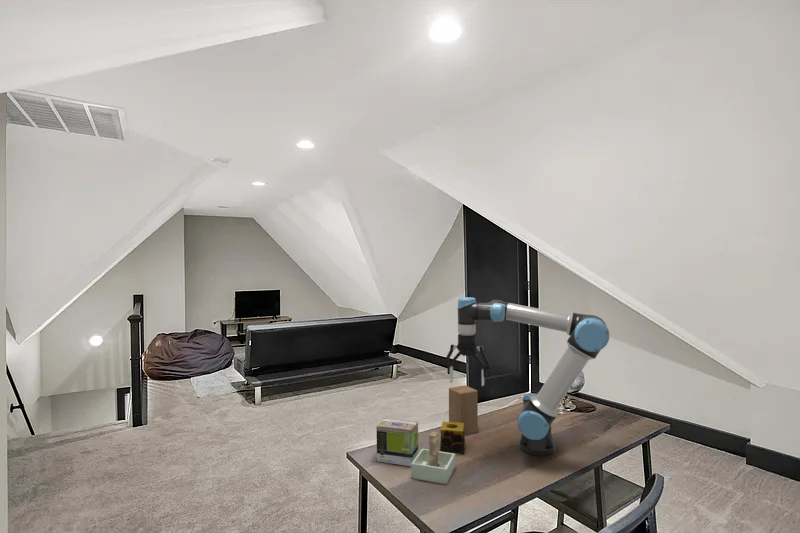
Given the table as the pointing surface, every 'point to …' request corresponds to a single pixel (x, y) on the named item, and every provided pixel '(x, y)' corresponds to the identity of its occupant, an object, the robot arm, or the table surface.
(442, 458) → the pale green square tray
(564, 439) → the table surface
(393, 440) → the tea box
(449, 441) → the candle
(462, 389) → the wooden block
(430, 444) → the long wooden plank
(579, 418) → the table surface
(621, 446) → the table surface
